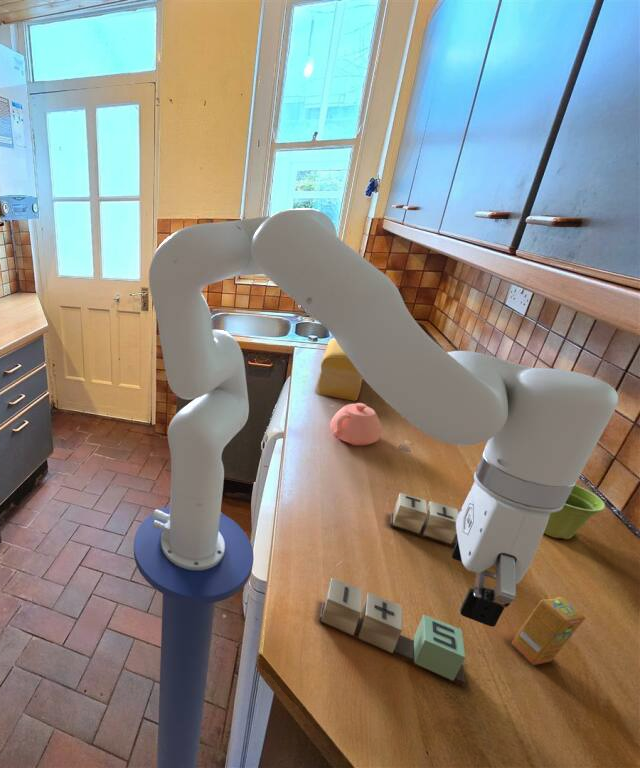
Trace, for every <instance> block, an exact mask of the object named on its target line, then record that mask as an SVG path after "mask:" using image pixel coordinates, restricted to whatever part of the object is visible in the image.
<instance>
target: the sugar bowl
mask: <svg viewBox="0 0 640 768" xmlns="http://www.w3.org/2000/svg"><path fill="white" fill-rule="evenodd" d="M381 424H382V423H381V422H380V419H379V417H378V415H377V412H376V411H375V410H374V409H373V408H372V407H369V406H367V405H366V404H365V403H362V402H355V403H349V404H346V405H344V406H343V407H342V408H340V409H339V410H338V411H336V413H335V414H334V415H333V417H332V418H331V420H330V424H329V428H330V430H331V432H332V436H333V437H334V438H338V439H340V440H341V441H343V442H345V443H348V444H350V445H351V446H354V447H357V446H368V445H372V444H374V443H376V442H377V441H379V440H380V438H381V436H382V425H381Z"/></svg>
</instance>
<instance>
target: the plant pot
mask: <svg viewBox="0 0 640 768" xmlns="http://www.w3.org/2000/svg"><path fill="white" fill-rule="evenodd" d="M605 509H606V503H605V501H604V500H602V498H600V497H599V496H598V495H596V494H595V493H593V492H591V491H590V490H588V489H586V488H584V487H582V486H579V485H577V484H575V486H574V487H573V489H572V491H571V493H570V495H569V497H568V499H567V501H566V502H565V505H564V506H563V508H562V509H561V510H560V511H557V512H553V513H550V516H549V519H548V523H547V525H546V528H545V531H544V534H543V535H547V536H550V537H552V538H555V539H563V540H570V539H571V538H573V536H574V535H575V534H576V533H577V532H578V531H580V529H581V528H582V527H583V526H584V525H585V524H586V523H587V522H588V521H589V519H590V518H591V517H592V516H595V515H596V514H597V513H599V512H603V511H604V510H605Z"/></svg>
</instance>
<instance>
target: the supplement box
mask: <svg viewBox="0 0 640 768" xmlns="http://www.w3.org/2000/svg"><path fill="white" fill-rule="evenodd" d="M585 620H586V616H584V615H583V613H581V611H579V610H578V609H577V608H576V607H574V606H573V605H572V604H571V603H569V602H568V601H567V600H566V599H565V598H563V597H562V596H557V597H556V598H551V599H541V600H540V601H539V602H538V603H537V604H536V606H535V608H534V609H533V610H532V612H531V614H530V615H529V616H528V618H527V619H526V620H525V622H524V624H523V625H522V626H521V628H520V629H519V631H518V632H517V634H516V635H515V636H514V638H513V640H512V642H511V645H512V646H513V647H514V648H515V649H516V650H517V651H518V652H519V653H520V654H521V655H522V656H523V657H524V658H525V659H526V660H527V661H528V662H529V663H530V664H531V665H533V666H537V665H540V664H546V663H550V662H552V661H553V660H554V659H555V657H556V656H557V655H558V653H559V652H560V651H561V650H562V649H563V647H564V646H565V644H566V643H567V642H568V641H569V640H570V639H571V637H572V636H573V635H574V633H575V632H576V631H577V629H579V627H580V625H581V624H582V623H583V622H584V621H585Z"/></svg>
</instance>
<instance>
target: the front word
mask: <svg viewBox="0 0 640 768" xmlns="http://www.w3.org/2000/svg"><path fill="white" fill-rule="evenodd" d="M363 596H364V590H363V589H361V588H359V587H356V586H353V585H351V584H348V583H347V582H344V581H342V580H339V579H337V578H333V577H331V578H330V581H329V585H328V589H327V593H326V597H325V600H324V601H323V602H322V604H321V609H320V613H319V617H318V622H320V623H321V624H324V625H325V626H328V627H330V628H333V629H334V630H337V631H339V632H342V633H343V634H346V635H348V636H350V637H352V638H354V639H357V640H359V641H361V642H364V643H366V644H368V645H370V646H372V647H374V648H377V649H379V650H381V651H383V652H386V653H388V654H389V655H392V656H394V657H396V658H399V659H401V660H403V661H405V662H407V663H409V664H411V665H414V666H417V667H418V668H420V669H423V670H425V671H427V672H429V673H432V674H434V675H436V676H438V677H440V678H443V679H445V680H447V681H449V682H451V683H453V684H455V685H458V686H459V687H463V686H464V684H465V681H466V680H465V674H464V665H463V664H462V665H461V667H460V669H459V671H458V673H457V675H456V677H455V678H454V680H450V679H448V678H446V677H444V676H442V675H439V674H437V673H435V672H433V671H431V670H428V669H426V668H424V667H422V666H419V665H417V664H415V661H414V639H411V638H409V637H406V636H404V635H401V634H402V631H403V606H402V605H401V604H399V603H396V602H393V601H391V600H388V599H386V598H384V597H381V596H379V595H376V594H374V593H371V592H369V591H368V592H367V593H366V596H365V600H364V601H363Z"/></svg>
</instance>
